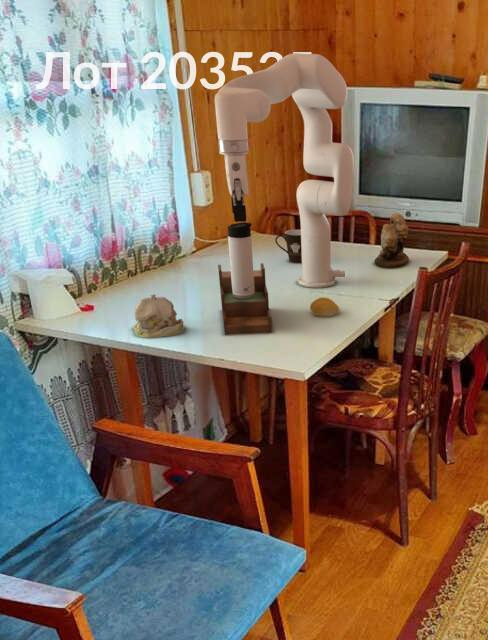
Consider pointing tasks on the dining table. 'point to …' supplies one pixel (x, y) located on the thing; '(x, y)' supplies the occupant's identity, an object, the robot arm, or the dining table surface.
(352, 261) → the dining table surface
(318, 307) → the bread roll
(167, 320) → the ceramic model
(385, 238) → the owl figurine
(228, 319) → the step rack
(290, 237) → the coffee mug
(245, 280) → the travel mug
